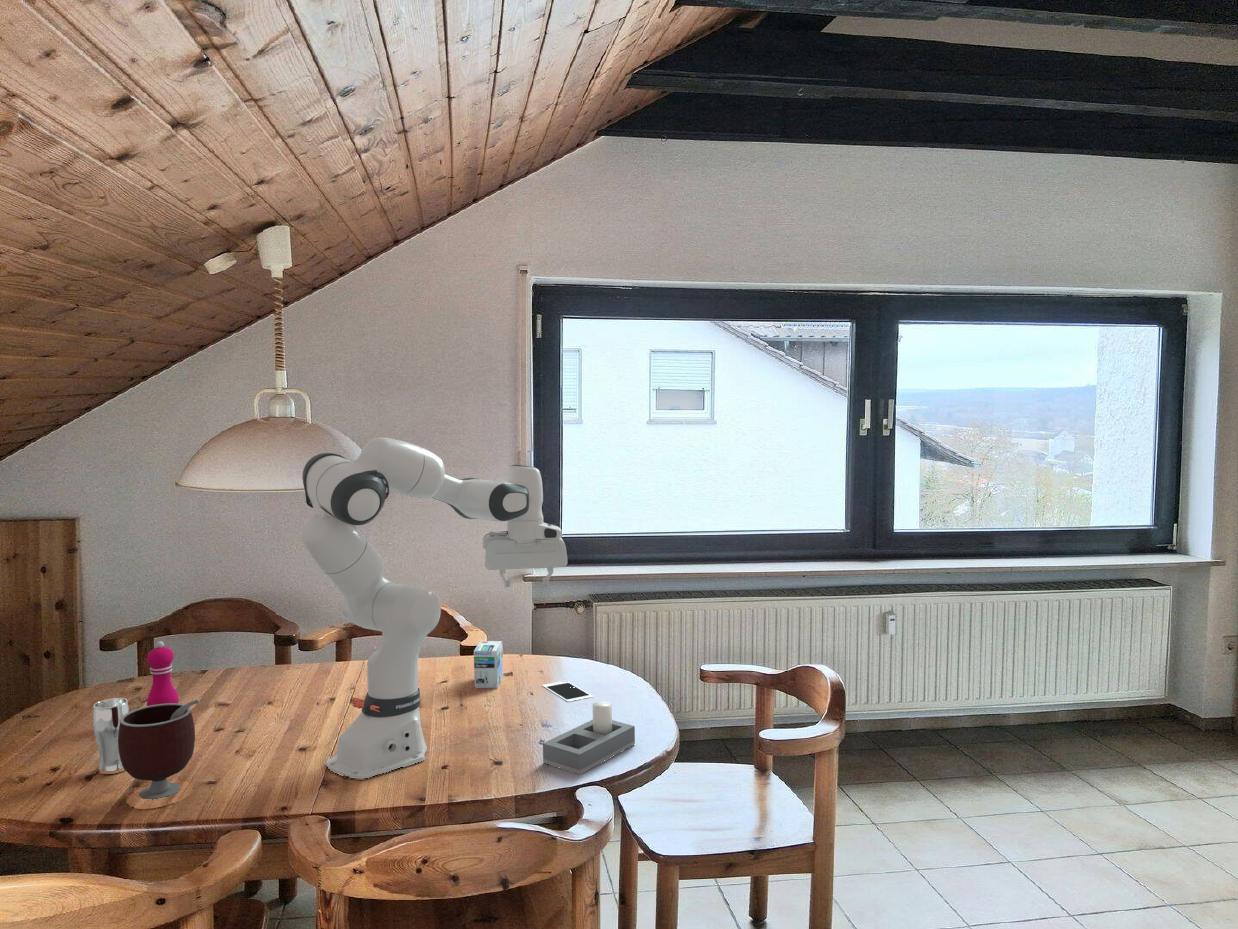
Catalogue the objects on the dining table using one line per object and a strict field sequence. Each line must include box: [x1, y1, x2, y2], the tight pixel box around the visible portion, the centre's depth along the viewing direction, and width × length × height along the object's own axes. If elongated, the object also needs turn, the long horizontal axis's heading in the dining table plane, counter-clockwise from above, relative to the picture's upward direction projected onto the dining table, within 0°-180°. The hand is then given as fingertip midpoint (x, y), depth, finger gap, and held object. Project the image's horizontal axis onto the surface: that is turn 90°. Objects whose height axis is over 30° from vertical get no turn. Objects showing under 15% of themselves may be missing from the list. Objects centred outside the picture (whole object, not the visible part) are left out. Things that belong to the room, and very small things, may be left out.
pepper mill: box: [146, 640, 180, 706], centre depth 225 cm, size 7×7×20 cm
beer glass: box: [92, 697, 130, 772], centre depth 194 cm, size 7×7×15 cm
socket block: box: [542, 719, 636, 775], centre depth 200 cm, size 20×10×4 cm, turn 143°
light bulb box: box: [473, 640, 504, 689], centre depth 251 cm, size 11×7×11 cm, turn 179°
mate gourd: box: [118, 699, 199, 800], centre depth 181 cm, size 16×14×20 cm
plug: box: [592, 700, 613, 735], centre depth 204 cm, size 4×4×9 cm
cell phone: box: [541, 681, 594, 703], centre depth 244 cm, size 8×16×1 cm, turn 31°
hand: (526, 586), depth 219 cm, fingers open, 8 cm apart
